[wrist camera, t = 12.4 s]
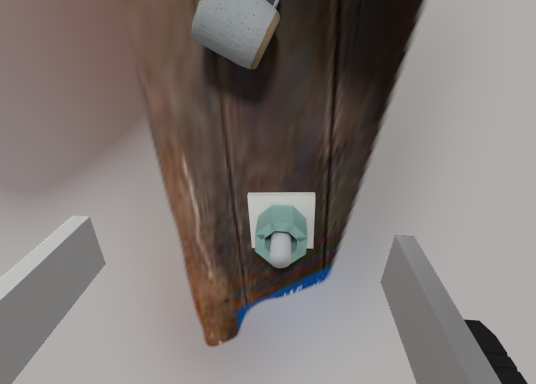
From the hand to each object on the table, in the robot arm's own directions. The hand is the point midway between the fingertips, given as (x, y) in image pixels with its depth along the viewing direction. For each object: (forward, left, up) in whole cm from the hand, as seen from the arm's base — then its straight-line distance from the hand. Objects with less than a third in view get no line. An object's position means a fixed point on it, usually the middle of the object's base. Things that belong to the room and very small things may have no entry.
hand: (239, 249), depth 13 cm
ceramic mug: (-4, -10, -32) cm, 34 cm away
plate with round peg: (+13, +16, -32) cm, 38 cm away
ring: (+13, +16, -30) cm, 37 cm away
